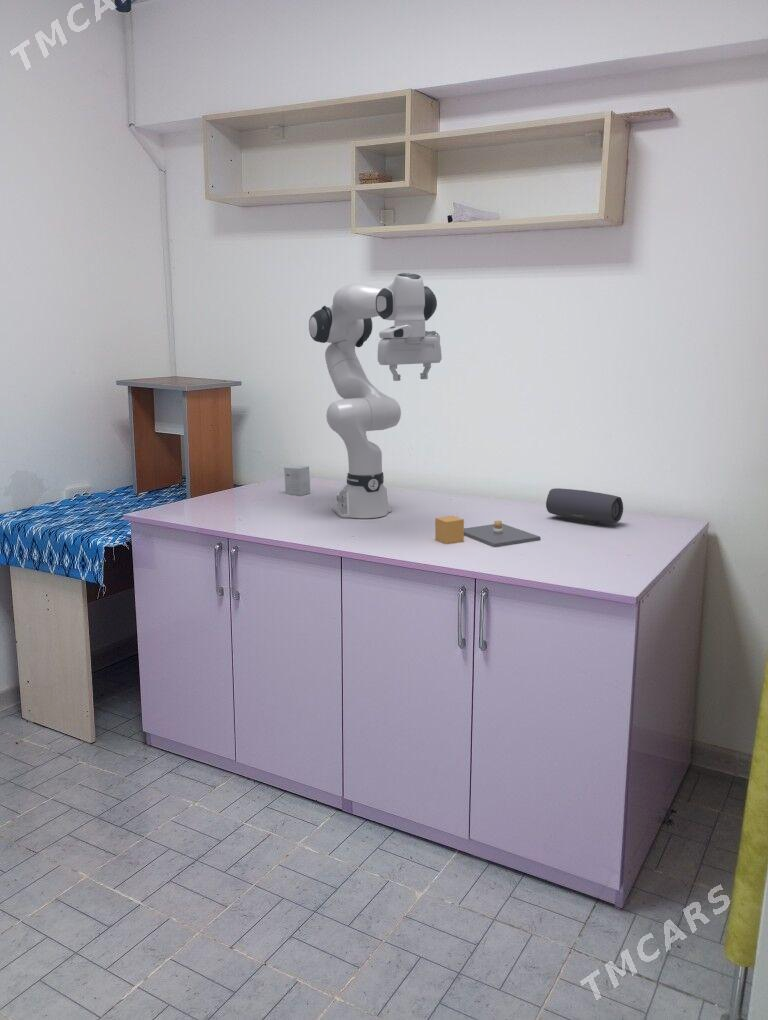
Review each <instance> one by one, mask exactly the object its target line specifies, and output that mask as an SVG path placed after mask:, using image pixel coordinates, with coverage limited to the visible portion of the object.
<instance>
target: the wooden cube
mask: <svg viewBox="0 0 768 1020" xmlns="http://www.w3.org/2000/svg"><path fill="white" fill-rule="evenodd" d="M464 522H465V521H464V518H461V517H457V516H454V515H449V516H441V517H435V523H434V524H435V525H434V526H435V529H434V530H435V531H434V532H435V533H434V534H435V536H434V537H435V541H438V542H441V543H443V544H445V545H448V544H455V543H463V542H464V539H465V538H464V537H465V535H464V527H465V526H464V525H465V523H464Z"/></svg>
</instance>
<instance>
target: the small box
mask: <svg viewBox="0 0 768 1020" xmlns="http://www.w3.org/2000/svg"><path fill="white" fill-rule="evenodd" d="M283 470H284V471H283V472H284V488H285V489H284V490H285V491H284V492H285V494H286V495H291V496H292V495H293V496H305V495H309V494H311V479H310V478H311V476H310V466H307V465H306V466H305V465H297V464H296V465H295V464H292V465H287V466H284V468H283Z"/></svg>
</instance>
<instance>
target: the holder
mask: <svg viewBox="0 0 768 1020" xmlns="http://www.w3.org/2000/svg"><path fill="white" fill-rule="evenodd" d="M465 536H466V537H468V538H470V539H473V540H476V541H478V542H480V543H483V544H486V545H487V546H490V547H493V548H498V547H504V546H510V545H517V544H523V543H529V542H530V543H531V542H536V541H541V536H540V535H538V534H534V533H531V532H528V531H525V530H522V529H519V528H516V527H514V526H510V525H507V524H505V523H503V521H501V520H494V523H493V524H492V523H491V524H484V525H479V526H473V527H472V526H471V527H465V528H464V537H465Z"/></svg>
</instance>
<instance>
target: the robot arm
mask: <svg viewBox="0 0 768 1020" xmlns="http://www.w3.org/2000/svg"><path fill="white" fill-rule="evenodd" d="M437 307H438V301H437V297H436V295H435V293H434V292H433V291H432V289H431V288H430V287H429V286H427V285H426V286H425V285H424V280H423V277H422V276H421V275H419V274H416V273H410V272H409V273H407V272H406V273H402V272H401V273H398V274H396V275H395V277H394V281H393V282H392V283H391V284H389V285H388V286H387V287H383V288H378V287H373V286H370V285H365V284H360V283H356V284H355V283H354V284H353V283H351V284H348V285H344V286H342V287H341V288H339V289H337V290H336V292H335V293H334V295H333V298H332V305H331V306H330V307H328V306H326V305H323V306H322V307H321V309H318V310H317V311H315V312H314V313H313V314H312V315H311V316H310V318H309V321H308V331H309V335H310V337H311V339H312V340H313V341H315V342H318V343H322V344H325V343H330V344H329V345H327V347H326V349H325V351H324V352H325V354H324V359H325V363H326V368H327V370H328V375H329V376H330V379H331V381H332V383H333V386H334V389H335V390H336V393H337V394H338V396H340V398H342V399H340V400H336V401H333V402H331V403H330V405H329V406H328V408H327V410H326V415H325V416H326V423H327V424H328V426H329V428H330V429H331V430H332V431H333V432H335V433H336V434H337V435H338V436H339V437H340V439H342V440H343V441H342V442H343V443H344V445H345V448H346V451H347V459H348V460H347V461H348V473H346V484H345V486H344V487H343V488H342V489H340V492H339V493H338V494H337V495H336V503H338V504H335V505H332V510H333V512H334V513H335V514H337V515H338V516H339V517H340V518H352V519H353V518H354V519H377V518H381V517H385V516H387V515H388V514H389V513H391V512H392V511H393V509H392V507H389V498H388V490H387V487H386V486H385V485H384V481H385V479H384V477H385V476H384V472H383V464H382V463H383V455H382V454H383V452H382V450H381V448H380V447H379V445H377V444H376V443H374V442H372V441H370V440H368V439H369V438H368V437H367V432H375V431H384V430H389V429H391V428H393V427H396V426H397V425H398V424H399V422H400V420H401V417H402V410H401V407H400V404H399V402H398V401H396V399H395V398H392V397H390V396H388V395H386V394H385V393H383V392H382V391H380V390H379V389H378V388H377V387H375V386H374V385H373V384H372V383H371V382H370V380H369V379H368V377H367V375H366V373H365V371H364V368H363V367H362V364H361V363H360V360H359V358H358V356H357V354H356V353H357V352H356V348H361V347H362V346H363V345H364V343H365V342H366V341H367V340H368V339H369V337H370V336H371V334H372V332H373V320H372V318H375V317H376V318H377V317H380V318H381V319H383V320H386V321H394V323H393V324H394V325H391V326H389V327H387V328H384V329H382V330H379V333H378V335H379V338H380V340H378V341H379V342H378V345H377V362H378V364H379V365H380V366H389V367H388V368H389V370H390V372H391V374H392V379H393V381H394V382H399V381H401V374H399V373H398V371H397V369H398V365H419V364H420V365H421V364H422V367H423V368H424V369H423V370H422V372H421V373H419V374H420V375H419V376H420V380H428V377H429V376H428V375H429V374H428V373H429V372H430V370H431V368H432V364H440V362H441V360H442V358H443V357H442V355H443V354H442V347H441V337H440V334H439V333H438V332H437V331H436V330H431V331H428V330H426V322H427V321H428V320H430V319H431V318H432V316H433V315H434V313H435V312H436V310H437Z"/></svg>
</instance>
